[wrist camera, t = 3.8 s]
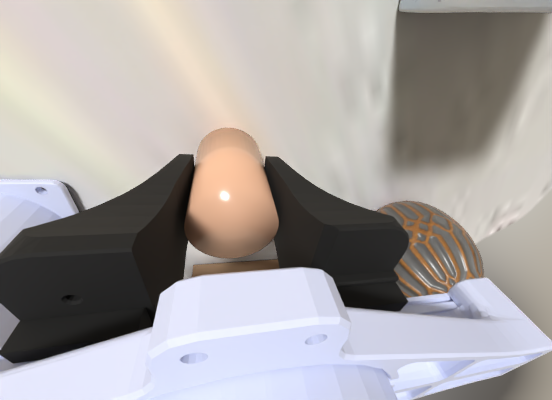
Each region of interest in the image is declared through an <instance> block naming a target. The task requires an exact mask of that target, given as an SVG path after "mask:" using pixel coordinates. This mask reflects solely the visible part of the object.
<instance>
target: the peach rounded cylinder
mask: <svg viewBox="0 0 552 400" xmlns="http://www.w3.org/2000/svg"><path fill="white" fill-rule="evenodd" d="M278 226H279V219H278V215H277V211H276V208H275V204H274V200H273V197H272V193H271V190H270V186H269V183H268V179H267V175H266V172H265V168H264V165H263V161H262V157H261V154H260V150H259V147H258V145H257V143H256V142H255V140H254V139H253V138H252V137H251V136H250V135H248V134H247V133H245V132H244V131H241V130H239V129H235V128H221V129H217V130H215V131H212V132H211V133H209V134H208V135H207V136H205V137H204V139H203V140H202V141H201V143H200V145H199V147H198V151H197V157H196V162H195V168H194V173H193V179H192V184H191V190H190V195H189V201H188V206H187V212H186V217H185V224H184V230H185V234H186V237H187V239H188V240H189V242H190V243H191V244H192V245H193V246H194V247H195V248H196V249H198V250H199V251H201V252H203V253H205V254H207V255H210V256H214V257H219V258H238V257H244V256H247V255H250V254H253V253H255V252H257V251H259V250H261V249H263V248H264V247H265V246H267V245H268V244H269V243H270V242H271V241H272V239H273V238H274V237H275V235H276V233H277V230H278Z"/></svg>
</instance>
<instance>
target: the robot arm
mask: <svg viewBox="0 0 552 400" xmlns="http://www.w3.org/2000/svg"><path fill="white" fill-rule="evenodd" d="M194 168H195V167H194V157H193V155H190V154H179V155H178V156H176V157H175V158H174V159H173V160H172V161H171V162H170V163H168V164H167V165H166V166H165V167H163V168H162V169H161V170H160V171H159V172H157V173H156V174H154V175H153V176H152V177H150V178H149V179H147V180H146V181H145V182H143V183H142V184H140V185H138V186H137V187H135V188H133V189H132V190H130V191H128V192H126V193H124V194H122V195H120V196H118V197H116V198H114V199H112V200H109V201H107V202H105V203H103V204H101V205H98V206H96V207H93V208H90V209H88V210H85V211H82V212H80V213H79V211H78V209H77V207H76V205H75V203H74V201H73V199H72V197H71V195H70V193H69V191H68V189H67V187H66V186H65V185H64V184H63V183H61V182H59V181H57V180H11V179H0V400H413V399H416V398H419V397H423V396H426V395H430V394H433V393H436V392H440V391H443V390H447V389H450V388H454V387H458V386H461V385H465V384H468V383H472V382H476V381H480V380H484V379H488V378H493V377H497V376H500V375H503V374H505V373H507V372H509V371H511V370H513V369H515V368H517V367H519V366H521V365H523V364H525V363H527V362H529V361H531V360H533V359H536V358H538V357H540V356H542V355H544V354H546V353H548V352H550V351H552V341H551V340H550V339H549V338H548V337H547V336H546V335H545V334H544V333H543V332H542V331H541V330H540V329H539V328H538V327H537V326H536V325H535V324H534V323H533V322H532V321H531V320H530V319H529V318H528V317H527V316H526V315H525V314H524V313H523V312H522V311H521V310H520V309H519V308H518V307H517V306H516V305H515V304H514V303H512V301H511V300H510V299H509V298H507V296H506V295H505V294H503V292H501V291H500V290H499V289H498V288H497V287H496V286H495V285H494V284H493V283H492V282H491V281H490V280H489V279H488V278H475V279H466V280H462V281H459V282H457V283H456V284H454V285H453V286H452V287H451V288H450V289H449V291H448V293H442V294H434V295H426V296H418V297H410V298H406V297H405V296H404V294H403V293H402V291H401V289H400V288H399V286H398V285H397V283H396V282H397V281H398V280H399V277H398V275H397V274H396V272H395V271H394V268H395V267H396V265H397V264H398V262H399V261H400V259H401V258H402V257H403V255H404V254H405V252H406V250H407V248H408V245H409V235H408V233H407V232H406V231H405V229H404V228H403V227H402V226H401V225H400V223H399V222H398V221H397V220H396V219H395V218H394V217H393V216H390V215H387V214H383V213H379V212H376V211H372V210H368V209H365V208H363V207H360V206H357V205H354V204H351V203H349V202H346V201H344V200H342V199H340V198H337V197H335V196H333V195H331V194H329V193H327V192H325V191H324V190H322V189H320V188H318V187H317V186H315V185H314V184H312V183H311V182H309V181H308V180H306V179H305V178H304V177H302V176H301V175H300V174H298V173H297V172H296V171H295V170H293V169H292V168H291V167H290V166H289V165H287V164H286V163H285V162H284V161H283V160H281V159H280V158H279V157H267V156H266V158H265V172H266V175H267V179H268V183H269V186H270V190H271V193H272V197H273V200H274V204H275V208H276V211H277V215H278V219H279V226H278V230H277V233H276V235H275V237H274V241H275V246H276V251H277V257H278V263H279V269H270V270H257V271H245V272H232V273H220V274H207V275H200V276H196V277H191V278H187V279H183V278H184V267H185V258H186V250H187V244H188V239H187V237H186V234H185V230H184V224H185V217H186V212H187V206H188V201H189V195H190V190H191V184H192V179H193V173H194ZM41 187H42V188H44V189H46V190H47V191H46V190H43V189H42V188H41Z"/></svg>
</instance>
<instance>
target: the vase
mask: <svg viewBox="0 0 552 400" xmlns="http://www.w3.org/2000/svg"><path fill="white" fill-rule="evenodd" d="M376 212H379V213H383V214H387V215H390V216H393V217H394V218H395V219H396V220H397V221H398V222H399V223H400V225H401V226H402V227H403V228H404V229H405V231H406V232H407V233H408V235H409V245H408V248H407V250H406V252H405V254H404V255H403V257H402V258H401V259H400V261H399V262H398V264H397V265H396V267H395V268H394V271H395V272H396V274H397V275H398V277H399V280H398V281H397V282H396V283H397V285H398V286H399V288H400V289H401V291H402V293H403V294H404V296H405V297H406V298H410V297H418V296H426V295H434V294H442V293H448V291H449V289H450V288H451V287H452V286H453V285H454V284H456V283H457V282H459V281H462V280H466V279H475V278H484V269H483V262H482V258H481V255H480V253H479V251H478V249H477V247H476V245H475V243H474V242H473V240H472V238H471V237H470V236H469V234H468V233H467V232H466V231H465V229H464V228H463V227H462V226H461V225H460V224H459V223H457V222H456V221H455V220H454V219H453V218H451V217H450V216H449V215H447V214H446V213H444V212H443V211H441V210H439V209H437V208H435V207H433V206H430V205H428V204H424V203H421V202H414V201H402V202H395V203H391V204H388V205H386V206H384V207H382V208H380V209H379V210H377V211H376Z"/></svg>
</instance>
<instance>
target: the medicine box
mask: <svg viewBox="0 0 552 400" xmlns="http://www.w3.org/2000/svg"><path fill="white" fill-rule="evenodd" d="M399 11H401V12H416V13H454V12H538V13H552V0H400V4H399Z"/></svg>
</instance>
